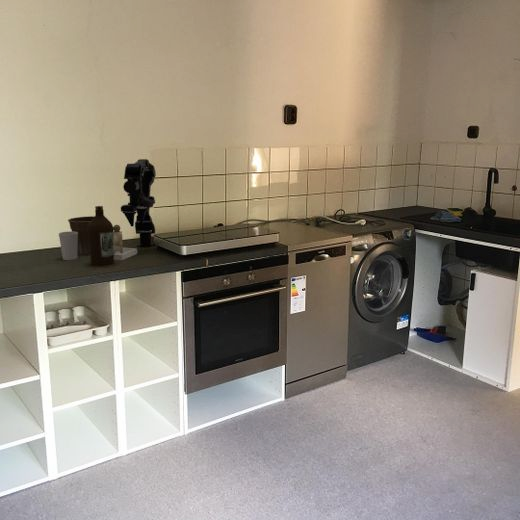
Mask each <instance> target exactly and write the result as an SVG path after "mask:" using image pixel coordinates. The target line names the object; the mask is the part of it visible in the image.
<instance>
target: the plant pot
mask: <svg viewBox="0 0 520 520" xmlns="http://www.w3.org/2000/svg"><path fill="white" fill-rule="evenodd" d="M94 217H95V215H93V216H91V215H89V216H88V215H87V216H79V217H78V216H77V217H72V218H69V219H67V221H68V222H69V228H70V230H71V231H72V232H78V245H77V255H90V248H89V239H88V231H87V229H88V225H89V223H90V222H91V220H92V219H93V218H94Z"/></svg>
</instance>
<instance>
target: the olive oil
mask: <svg viewBox="0 0 520 520" xmlns="http://www.w3.org/2000/svg"><path fill="white" fill-rule="evenodd" d="M94 209H95V210H94V212H95V215H94V216H95V217H94V218H93V219H92V220H91V222H90V223H89V225H88V229H87V231H88V239H89V248H90V254H89V256H90V257H89V258H90V265H91V266H93V267H94V266H95V267H106V266H111V265H114V264H115V260H114V229H113V227H114V225H113V224H112V222H111V221H110V220H109V219H108V218H107V217H106V216H105V214H104V210H105V209H104V206H103V205H97V206H96V205H95V207H94Z"/></svg>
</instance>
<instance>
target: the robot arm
mask: <svg viewBox="0 0 520 520" xmlns="http://www.w3.org/2000/svg"><path fill="white" fill-rule="evenodd" d="M156 173H157V172H156V169H155V166H154V165H153V164H152V163H151V162H150V160H149V159H146V158H144V159H142V158H140V159H137V161H136V162H135V163H127V164H126V166H125V168H124V176H123V179H124V180H126V181H125V182H124V183H123V185H122V186H123V191H124V192H125V193H126V194H127V197H129V198H128V199H129V202H127V204H123V205H121V206H120V212H121V213H122V214H123V215H124V216H125V218H126V220H127V222H128V223H129V225H130V227H134V229H135V234H136V235H138V234H139V244H137V245H136V246H137V247H145V246H150V247H151V245H152V246H154V245H153V243H154V242H153V239H152V235H154V234H156V227H155V224H154V221H153V218H152V217H151V214H150V211H151V210H150V209H151V208H153V207H154V204H156V199H155V196H151V190H152V189H151V186H152V185H153V183H154V182H155V178H156V175H157V174H156ZM135 215H136V219H135ZM152 242H153V243H152Z"/></svg>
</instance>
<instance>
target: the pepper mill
mask: <svg viewBox="0 0 520 520" xmlns="http://www.w3.org/2000/svg"><path fill="white" fill-rule="evenodd" d="M113 229H114V254H115V253H116V252H121V253H122V254H123V248H124V246H123V231H121V226H120V224H114V225H113Z"/></svg>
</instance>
